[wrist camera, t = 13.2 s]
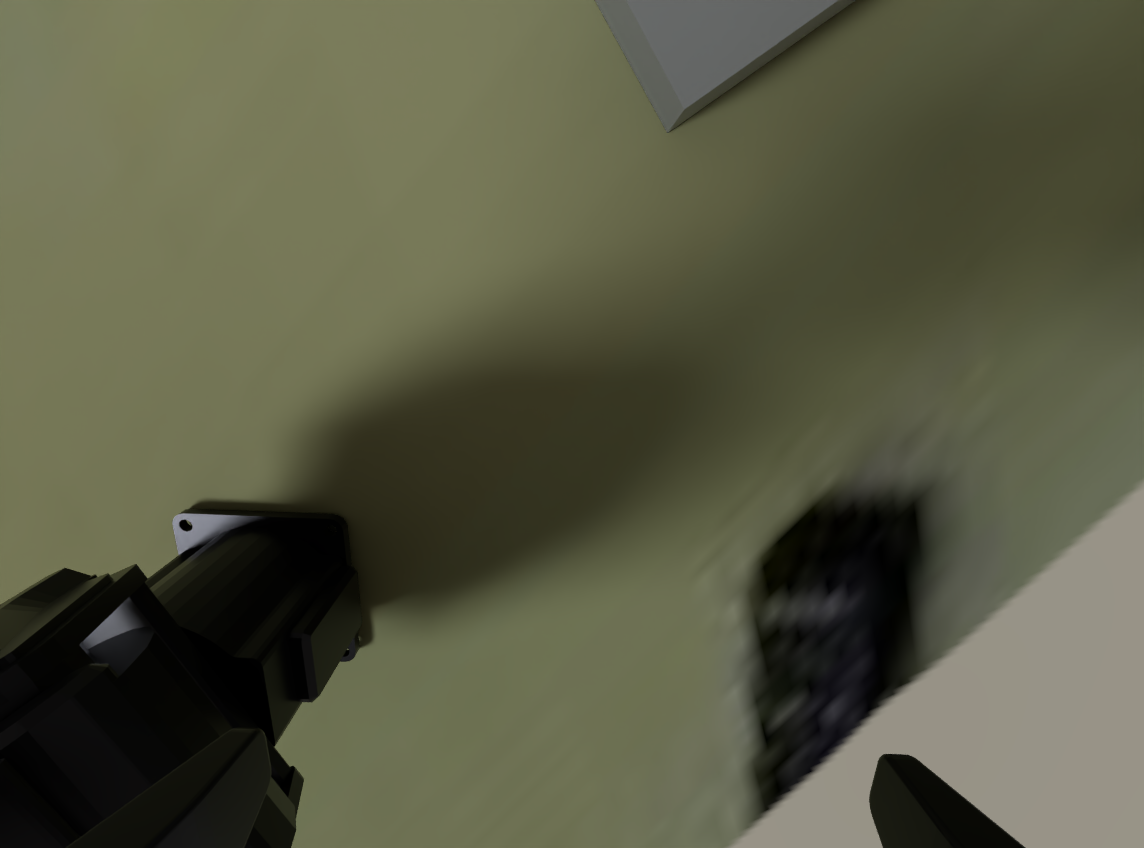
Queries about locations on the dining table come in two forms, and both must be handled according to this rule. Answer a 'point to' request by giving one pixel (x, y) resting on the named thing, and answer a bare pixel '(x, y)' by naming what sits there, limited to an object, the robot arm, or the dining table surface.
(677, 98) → the holder block
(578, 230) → the dining table surface
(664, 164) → the dining table surface
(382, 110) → the dining table surface
